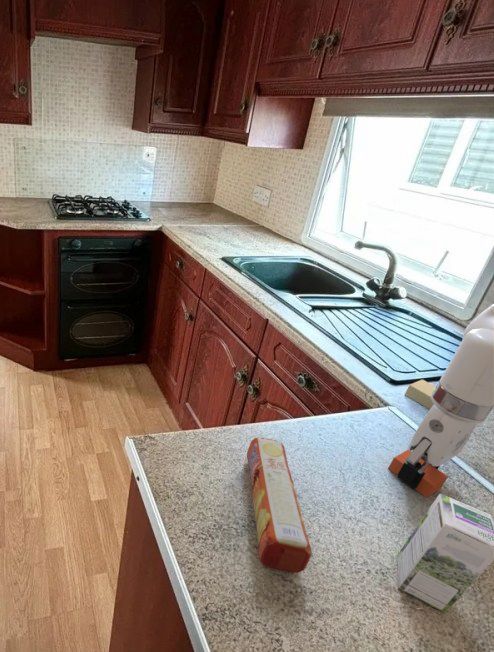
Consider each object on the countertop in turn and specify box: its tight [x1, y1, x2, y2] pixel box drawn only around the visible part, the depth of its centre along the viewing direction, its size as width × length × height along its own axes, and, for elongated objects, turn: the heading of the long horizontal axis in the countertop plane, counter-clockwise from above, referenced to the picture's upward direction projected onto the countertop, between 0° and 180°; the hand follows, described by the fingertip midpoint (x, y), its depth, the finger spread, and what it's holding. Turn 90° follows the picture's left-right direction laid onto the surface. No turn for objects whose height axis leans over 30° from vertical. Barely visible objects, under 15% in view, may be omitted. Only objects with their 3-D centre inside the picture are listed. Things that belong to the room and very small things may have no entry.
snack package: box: [246, 436, 313, 574], centre depth 64 cm, size 21×7×7 cm, turn 169°
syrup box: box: [396, 493, 494, 614], centre depth 54 cm, size 6×6×14 cm
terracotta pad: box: [387, 448, 449, 498], centre depth 74 cm, size 7×5×3 cm
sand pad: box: [404, 379, 436, 410], centre depth 97 cm, size 8×6×3 cm
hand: (414, 476), depth 75 cm, fingers closed on terracotta pad, 5 cm apart
